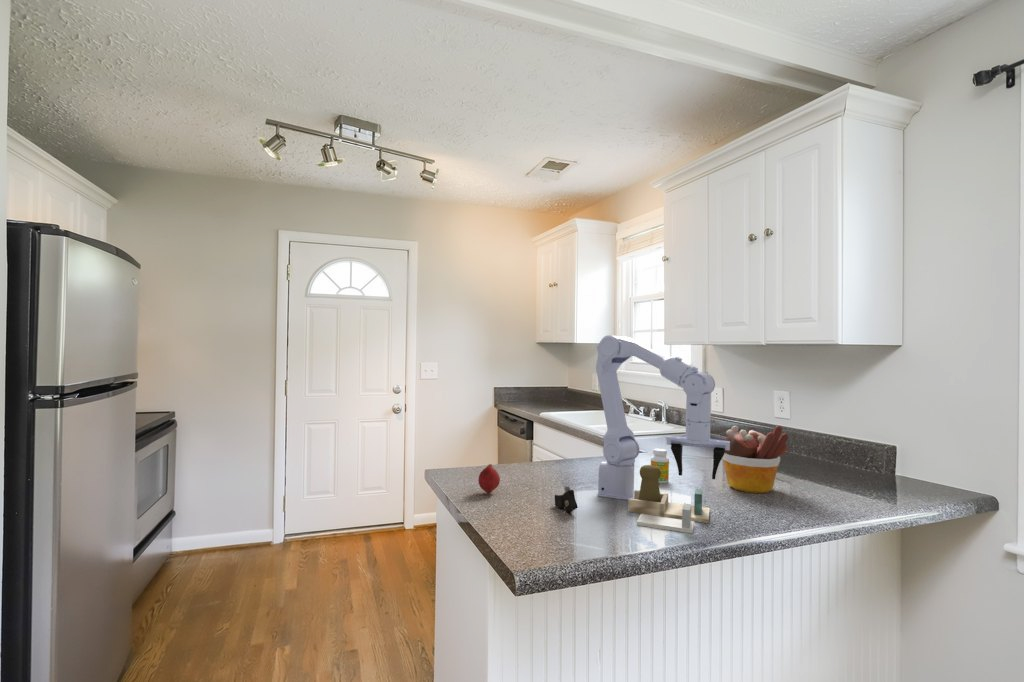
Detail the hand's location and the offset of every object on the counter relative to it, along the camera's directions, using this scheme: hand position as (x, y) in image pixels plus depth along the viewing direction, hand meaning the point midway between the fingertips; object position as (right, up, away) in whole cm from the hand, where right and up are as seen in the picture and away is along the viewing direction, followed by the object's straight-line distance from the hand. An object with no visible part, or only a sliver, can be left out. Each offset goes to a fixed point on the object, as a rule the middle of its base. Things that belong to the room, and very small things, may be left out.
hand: (696, 476), depth 125 cm
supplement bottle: (0, -10, +32) cm, 34 cm away
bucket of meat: (+26, -11, +26) cm, 38 cm away
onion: (-52, -9, +14) cm, 54 cm away
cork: (-11, -9, +3) cm, 15 cm away
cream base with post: (-10, -9, -9) cm, 16 cm away
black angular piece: (-33, -9, 0) cm, 34 cm away
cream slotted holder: (-6, -9, +1) cm, 11 cm away
